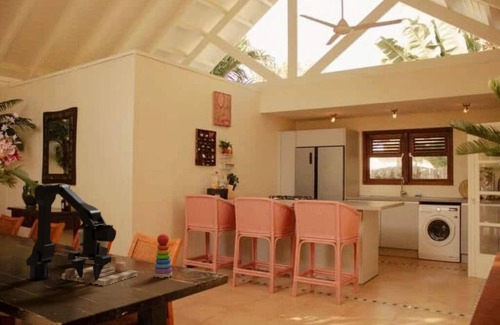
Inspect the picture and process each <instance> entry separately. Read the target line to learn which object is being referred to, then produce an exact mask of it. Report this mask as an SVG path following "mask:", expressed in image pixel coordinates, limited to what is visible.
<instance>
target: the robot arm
mask: <svg viewBox="0 0 500 325" xmlns="http://www.w3.org/2000/svg"><path fill="white" fill-rule="evenodd" d="M33 194H34V201H36V202H35V203H37V206H38V207H37V208H38V209H37V212H38V214H37V232H36V236H37V238H36V241H35V243H34V244H33V247H32V251H31V254H30V255H29V257H28V258H27V259H26V260H25V264H26V266H28V267H29V277H27V278H26V280H29V281H34V282H39V281H43V280H47V279H51V276H49V266H48V265H49V264H50V263H51V262H52V260H53V258H54V256H55V253H56V252H57V251H56V246H57V245H56V243H53V242H52V240H51V226H52V206H53V203H54V202H55V200H56V199H57V198H56V197H57V195H59V196H60V197H61V198H62V199H63V200H64V201H65V202H66V203H67V204H69V205H70V206H71V207H72V209H74V211H75V213H77V214H76V215H77V217H78V219H79V220H80V221H81V224H80V225H79V226H78V228H77V229H79V230H83V242H82V243H80V244H79V247H80V246H82V251H81V250H75V251H71V252H69V253H68V254H67V261H70V263H71V264H72V265H73V268H74V269H75V271H77V273H78V275H79V277H80V278H81V277H83V269H84V268H85V267H84V266H85V265H84V264H86V263H85V261H86V259H87V260H93V261H94V263H95V264H91V267H93V272H94V278H95V281H97V280H98V278H99V276H100V273H101V271H102V269H103V267H104V266H106V265H108V264H110V263H112V256H111V255H109V254H108V252H109V247H107V246H106V247H102V246H100V242H98V241H105V242H107V243H112V242H114V240H115V239H116V237H117V232H116V228H114V225H113V224H107V223H106V221H105V219H104V217H103V216H102V213H101V211H100V209H98V208H96V207H95V206H93V205H91V204H88V203H86V202H85V200H83V199H82V198H81V197H80V196H79V195H78V194H77V193H76V192H75V191H73V189H71V187H70V186H69V185H68V184H67V183H58V184H38V185H37V186H36V187H35V188H34V190H33ZM97 255H99V256H97Z"/></svg>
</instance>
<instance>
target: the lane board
mask: <svg viewBox="0 0 500 325" xmlns="http://www.w3.org/2000/svg"><path fill="white" fill-rule="evenodd" d="M91 269H93V266H90V267H86V268H85V267H84V268H83V271H87V270H91ZM113 271H115V267H109V268H107V269H103V270H102V271H101V273H100V275H102V274H105V273H109V272H113ZM75 273H77V271H76V270H75ZM137 275H138V276H139V270H137V271H136V270H132V269H131V270H130V269H129V270H127V271H125V272H121V273H118V274H114V275H110V276H107V277H103V278H100V279H98V280H97V281H95V282H91V283H92V284H91V285H95V284H98V285H97V286H100V285H102V286H101V287H106V286H109V285H113V284H116V283H119V282H122V281H121V280H123V281H125V280H124V279H126V280H128V279H127V278H129V279H131V278H130V277H133V278H135V277H134V276H136V277H138V276H137ZM61 279H62V280H66V279H65V272H64V273H62V274H61ZM72 280H73V281H74V282H77V281H79V282H78V283H83V282H84V274H83V277H81V278H80V277H79V276H76V278H74V279H70V280H68V279H67V281H72ZM118 281H119V282H118ZM115 282H116V283H115ZM112 283H113V284H112ZM108 284H109V285H108ZM105 285H106V286H105Z"/></svg>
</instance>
